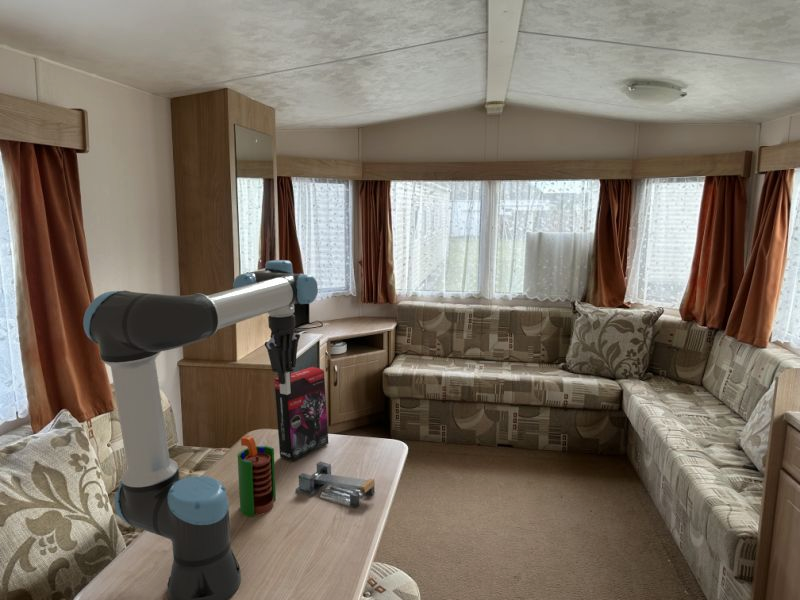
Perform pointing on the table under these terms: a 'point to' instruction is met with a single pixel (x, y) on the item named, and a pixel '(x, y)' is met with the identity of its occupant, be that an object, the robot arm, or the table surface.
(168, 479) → the robot arm
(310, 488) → the bracket
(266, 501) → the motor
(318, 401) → the graphics card box
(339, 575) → the table surface
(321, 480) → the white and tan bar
